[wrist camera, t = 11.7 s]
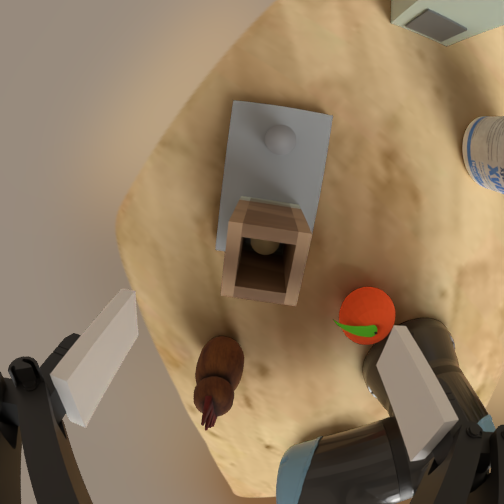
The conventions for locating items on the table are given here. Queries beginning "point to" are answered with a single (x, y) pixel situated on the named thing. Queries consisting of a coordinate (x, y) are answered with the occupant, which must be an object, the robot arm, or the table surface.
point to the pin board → (273, 162)
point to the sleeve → (266, 266)
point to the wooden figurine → (217, 378)
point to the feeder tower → (447, 18)
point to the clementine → (367, 315)
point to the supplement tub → (485, 152)
